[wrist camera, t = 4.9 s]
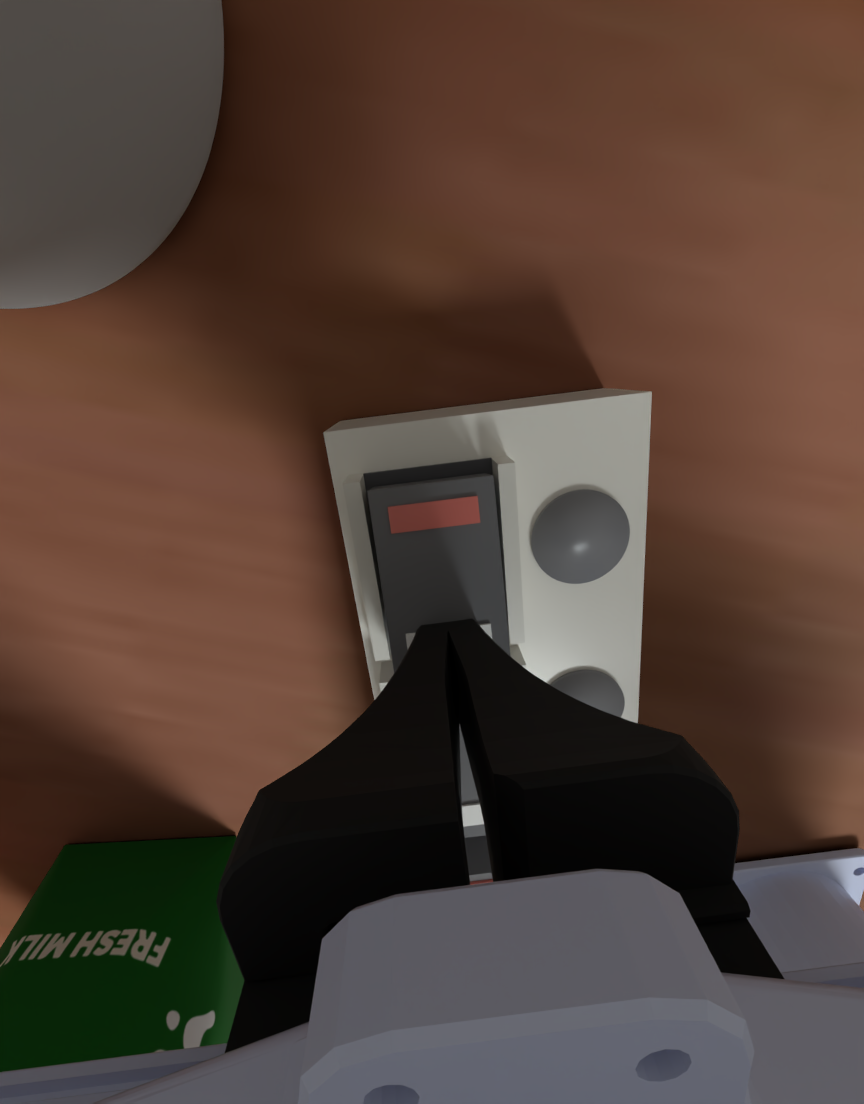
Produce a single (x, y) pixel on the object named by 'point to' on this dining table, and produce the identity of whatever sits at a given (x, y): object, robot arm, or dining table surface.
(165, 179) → the cylinder vase
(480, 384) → the dining table surface
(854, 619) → the dining table surface
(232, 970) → the milk carton
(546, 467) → the switch panel
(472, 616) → the rocker
